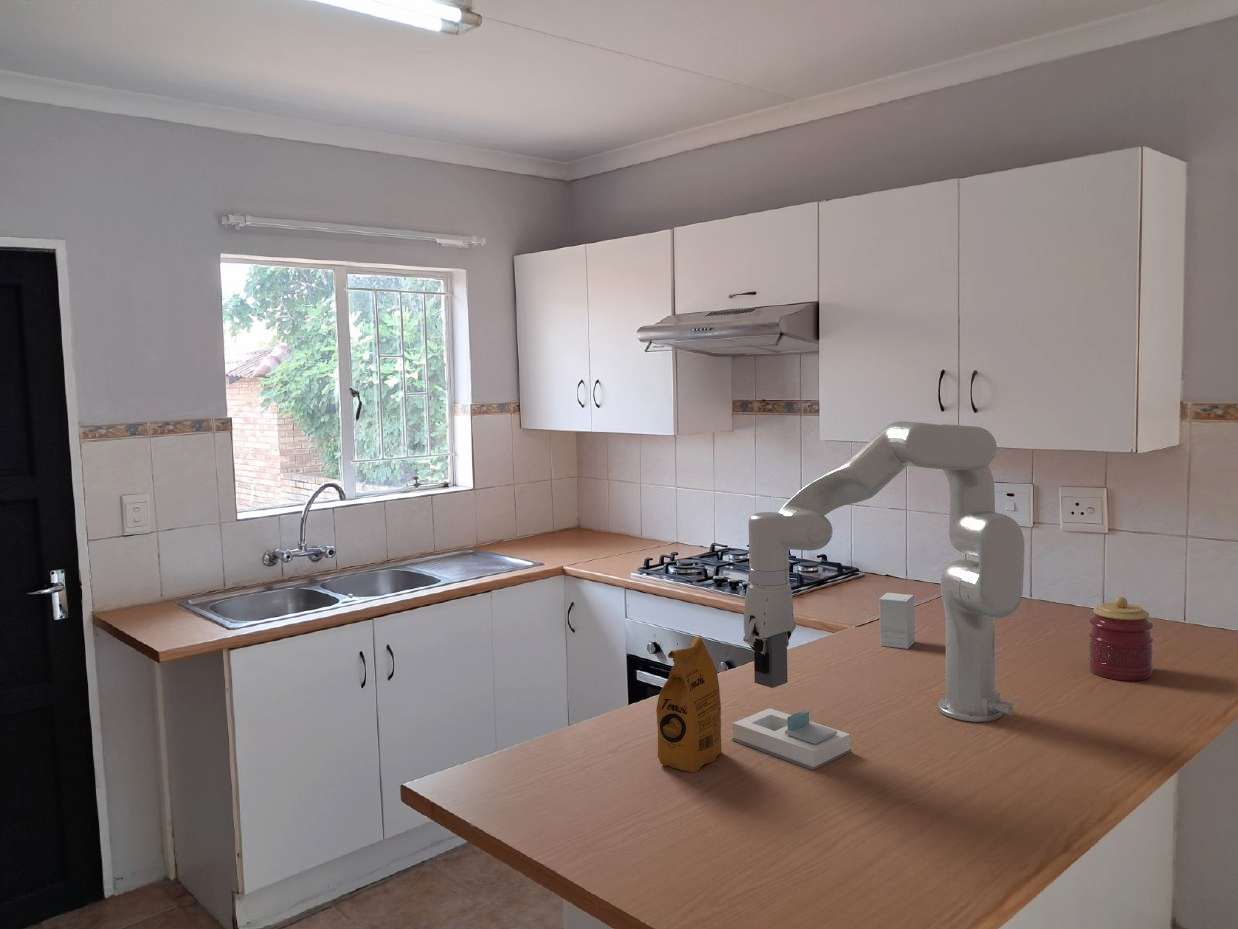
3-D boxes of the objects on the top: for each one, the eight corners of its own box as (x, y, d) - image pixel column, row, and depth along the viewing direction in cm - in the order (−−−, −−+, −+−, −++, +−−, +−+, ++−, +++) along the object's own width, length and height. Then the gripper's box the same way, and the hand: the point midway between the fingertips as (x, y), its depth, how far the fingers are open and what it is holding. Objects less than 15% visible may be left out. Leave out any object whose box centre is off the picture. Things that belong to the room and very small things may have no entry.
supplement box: (915, 642, 239) (915, 594, 238) (907, 649, 233) (907, 601, 232) (887, 638, 243) (886, 591, 242) (879, 646, 237) (878, 598, 236)
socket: (851, 751, 173) (850, 733, 172) (812, 770, 165) (812, 751, 165) (770, 724, 188) (770, 707, 187) (732, 740, 180) (731, 723, 180)
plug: (787, 682, 178) (786, 622, 177) (772, 688, 175) (771, 626, 174) (769, 677, 182) (768, 618, 181) (754, 682, 179) (753, 622, 178)
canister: (1139, 686, 201) (1141, 607, 199) (1078, 673, 211) (1079, 598, 209) (1161, 671, 210) (1162, 596, 208) (1101, 660, 219) (1102, 587, 218)
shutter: (837, 734, 172) (836, 718, 171) (815, 744, 167) (814, 728, 167) (806, 724, 177) (806, 709, 177) (785, 733, 173) (784, 718, 173)
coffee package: (649, 764, 171) (645, 649, 168) (685, 742, 180) (682, 632, 178) (694, 777, 165) (690, 657, 162) (729, 752, 174) (726, 640, 172)
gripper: (782, 567, 185) (783, 655, 187) (724, 581, 174) (727, 675, 176) (812, 572, 179) (813, 663, 181) (755, 587, 168) (756, 684, 170)
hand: (770, 668), depth 178 cm, fingers closed on plug, 4 cm apart
